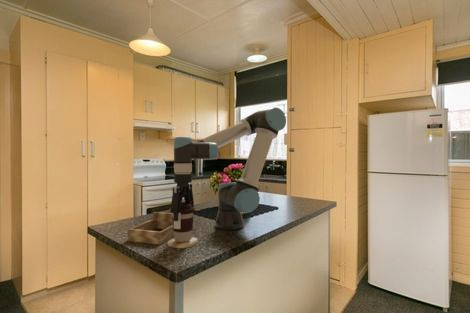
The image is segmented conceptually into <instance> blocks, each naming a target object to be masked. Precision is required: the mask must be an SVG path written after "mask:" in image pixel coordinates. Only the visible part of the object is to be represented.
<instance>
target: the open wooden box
mask: <svg viewBox="0 0 470 313" xmlns="http://www.w3.org/2000/svg"><path fill="white" fill-rule="evenodd" d="M172 217H173V213H168V212H160V211H159V212H157V211H154V212H152V219H149V220H146V221H144V222H142V223H140V224H137V225H135V226H133V227H131V228H128V229H127V241H128V242H136V243H142V244H143V243H145V244H154V245H163V244H165V243H166V242H168V240H170V239H172V238H174V231H173V221H172ZM156 229H159V230H160V229H161V230H160V231H157V230H156Z"/></svg>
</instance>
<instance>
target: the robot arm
mask: <svg viewBox="0 0 470 313" xmlns="http://www.w3.org/2000/svg"><path fill="white" fill-rule="evenodd" d="M286 123H287V117H286V115H285V112H284V111H283V110H282V109H281V108H279V107H268V108H265V109H261V110H257V111H255V112H253V113H251V114H249V115H248V116H246V117H244V118H242V119H240V121H239V122H237V123H235V124H233V125H231V126H229V127H226V128H225V129H221V130H220V131H217V132H215V133H214V134H211V135H209V136H207V137H204V138H202V139H199V140H198V141H193V139H192V137H189V136H188V137H186V136H178V137H177V136H176V137H175V138H174V140H173V159H174V160H173V172H174V174H173V182H174V183H175V184H176V187H172V197H171V204H170V209H171V210H170V212H171V213H174V229H181V213H179V211H180V207H181V203H183V200H184V203H188V204H191V206H192V207H194V208H195V205H194V204H195V201H194V194H193V184H192V181H193V175H192V173H193V164H192V162H193V160H215V159H217V158H218V155H219V148H221V147H224V146H226V145H228V144H230V143H232V142H234V141H236V140H238V139H241V138H243V137H244V136H248V137H249V136H251V135H253V134H256V135H255V137H254V140H253V143H252V145H251V149H250V151H249V154H248V157H247V160H246V163H245V166H244V167H243V168H244V169H243V171H242V174H241V176H240V178H237V180H236V182H222V183H219V184H218V212H217V215H216V218H215V222H214V223H215V224H214V225H215V226H214V227H216V228H217V229H220V230H224V231H225V230H226V231H227V230H228V231H230V230H231V231H232V230H238V229H239V230H240V229H242V228H243V227H244V226H245V222H244V218H243V214H242V213H245V214H250V213H251V212H254V211H255V210H256V209H257V208H258V206H259V205H260V202H261V197H260V194H259V189H260V187H259V185H258V183H259V181H260V177H261V175H262V171H263V168H264V167H265V166H264V165H265V163H266V160H267V158H268V154H269V151H270V149H271V145H272V143H273V141H274V139H276V138H278V135H279V132H280V131H282V130H284V129H285V127H286V125H287V124H286Z"/></svg>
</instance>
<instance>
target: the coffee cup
mask: <svg viewBox="0 0 470 313" xmlns="http://www.w3.org/2000/svg"><path fill="white" fill-rule="evenodd" d="M179 213H181V229H174V213H173V217H172V221H173V231H174V237H173V238H174V240H175V241H178V242H185V241H189V240H191V237H193V236H192V235H193V229H194V228H193V226H194V213H195V206H194V207H192V206H191V204H188V203H185V202H182V203H181V207H180V211H179Z"/></svg>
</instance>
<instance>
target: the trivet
mask: <svg viewBox="0 0 470 313" xmlns="http://www.w3.org/2000/svg"><path fill="white" fill-rule="evenodd" d="M166 242H167V246H168V247H170V248H173V249H186V248H187V249H188V248H192V247H194V246H196V245H198V244H199V238H197V237H194V236H192V237H191V240H189V241H185V242H178V241H175V240H174V237H172V238H171V239H169V240H167V241H166Z"/></svg>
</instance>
